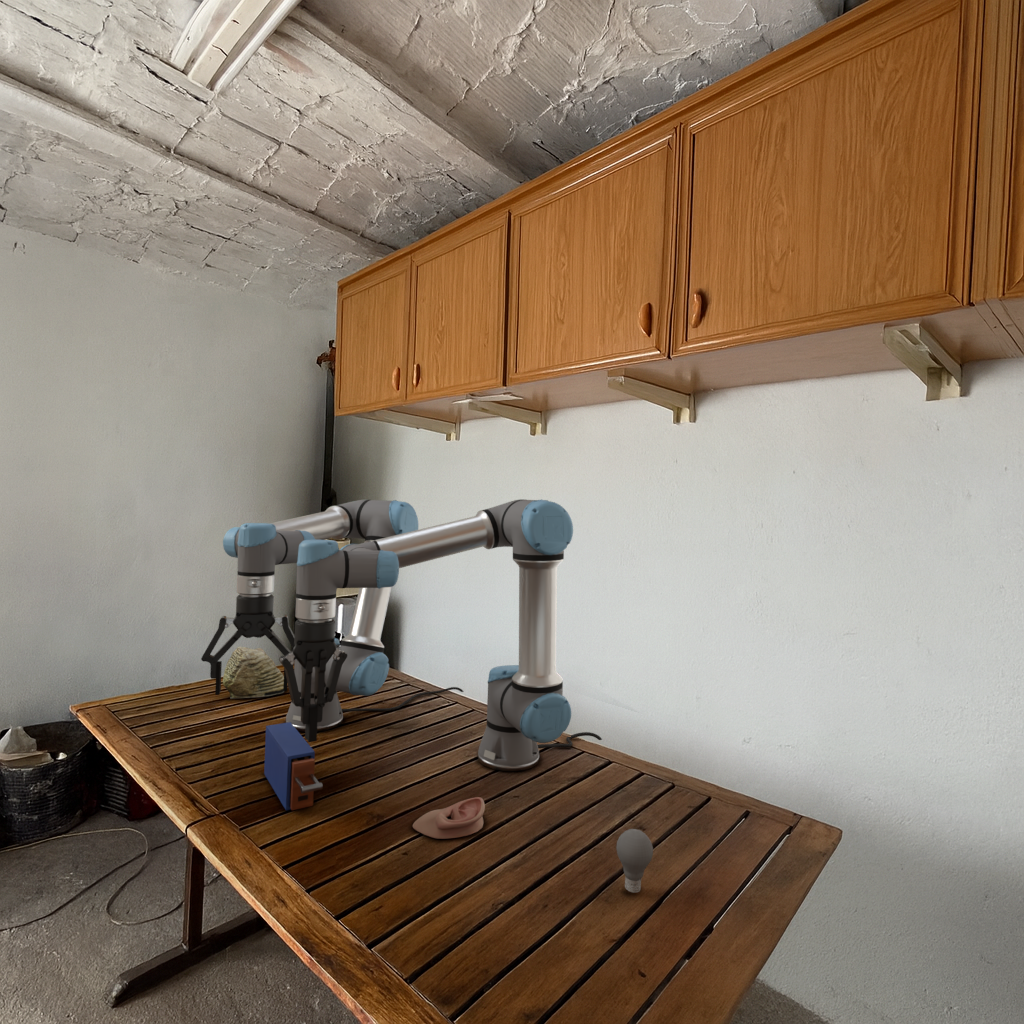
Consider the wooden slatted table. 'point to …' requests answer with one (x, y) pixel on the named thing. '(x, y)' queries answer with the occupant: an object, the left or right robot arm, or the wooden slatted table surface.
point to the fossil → (252, 674)
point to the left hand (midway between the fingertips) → (252, 691)
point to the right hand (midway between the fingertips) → (310, 739)
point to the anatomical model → (453, 820)
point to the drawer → (303, 782)
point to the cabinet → (283, 757)
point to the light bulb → (634, 857)
